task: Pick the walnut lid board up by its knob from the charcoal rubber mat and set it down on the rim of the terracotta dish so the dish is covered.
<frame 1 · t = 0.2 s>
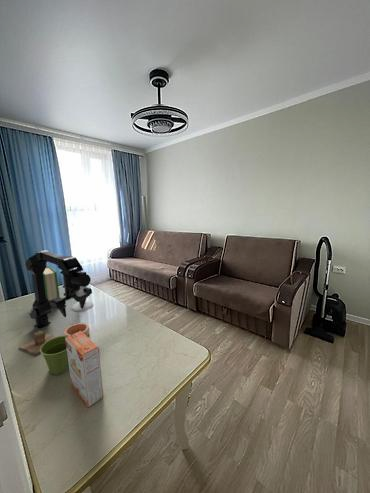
hand: (73, 312, 104), 14 cm above the table, fingers open, 9 cm apart
plant pot: (60, 368, 87), on the table
bowl: (77, 336, 108), on the table
mat: (40, 345, 101), on the table
candlestick: (82, 306, 139), on the table
lid: (40, 344, 101), point 1 cm above the table, touching mat
hardback book: (51, 303, 144), on the table
cracker box: (86, 392, 77), on the table
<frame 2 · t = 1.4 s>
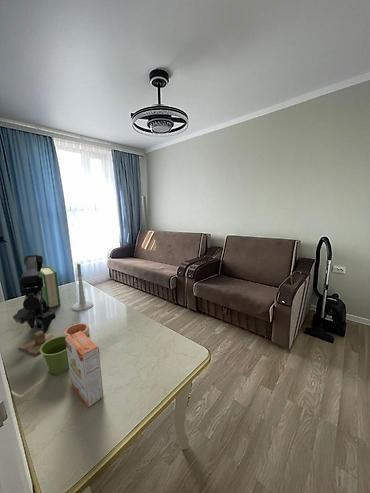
hand: (38, 330, 100), 8 cm above the table, fingers open, 9 cm apart
nothing on the table moved.
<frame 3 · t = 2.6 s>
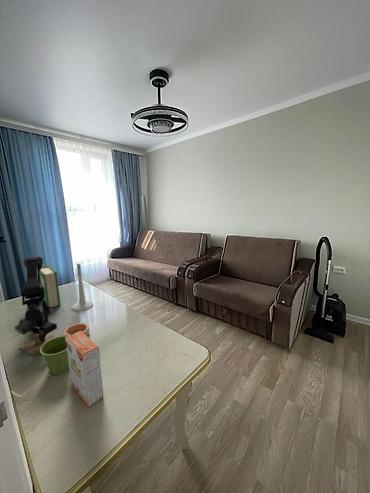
hand: (40, 340, 101), 3 cm above the table, fingers closed on lid, 3 cm apart
lid: (40, 344, 101), point 1 cm above the table, touching gripper, mat
everything else where it was.
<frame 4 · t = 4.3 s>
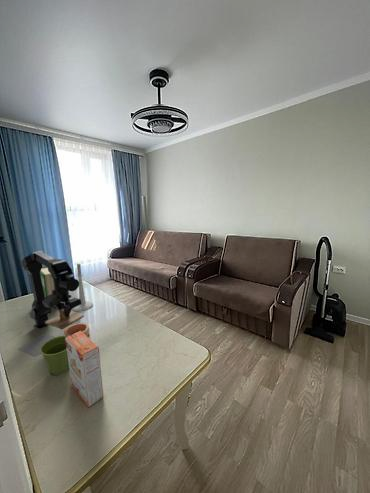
hand: (65, 316, 103), 13 cm above the table, fingers closed on lid, 3 cm apart
lid: (65, 320, 103), point 11 cm above the table, touching gripper
everything else where it was.
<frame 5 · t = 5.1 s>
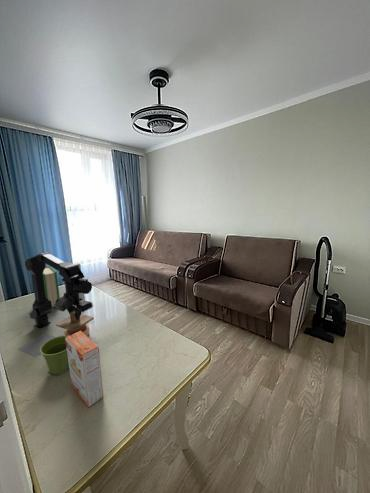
hand: (75, 318, 106), 10 cm above the table, fingers closed on lid, 3 cm apart
lid: (75, 322, 106), point 8 cm above the table, touching gripper
everything else where it was.
when the fingers open (7 cm above the table, at t = 5.8 s): lid stays where it is, resting on bowl.
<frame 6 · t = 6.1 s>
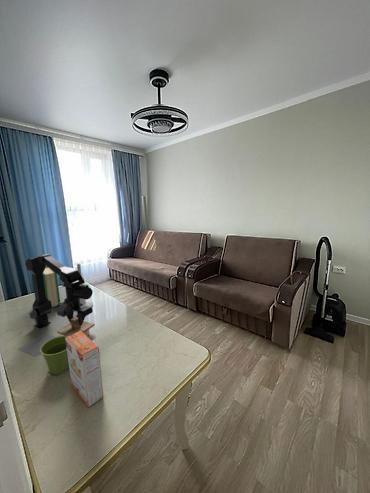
hand: (76, 324, 106), 7 cm above the table, fingers open, 6 cm apart
lid: (76, 329, 107), point 4 cm above the table, touching bowl
everything else where it was.
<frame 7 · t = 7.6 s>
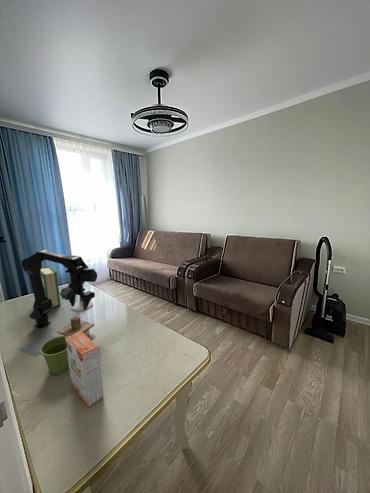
hand: (79, 308, 112), 13 cm above the table, fingers open, 9 cm apart
nothing on the table moved.
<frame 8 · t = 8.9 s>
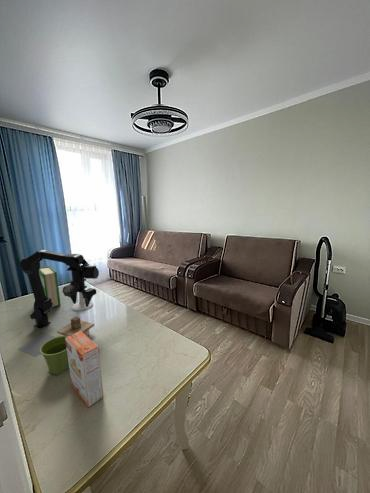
hand: (80, 305, 114), 13 cm above the table, fingers open, 9 cm apart
nothing on the table moved.
at the end: lid 0.1 cm off-centre on the bowl, point 4.5 cm above the bowl's base; lid tilted 0°; the gripper is holding nothing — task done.
